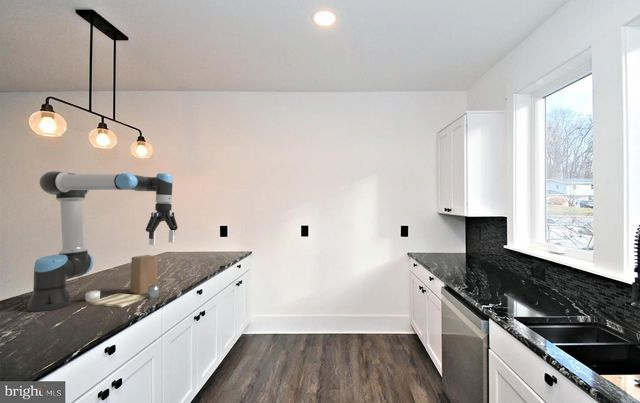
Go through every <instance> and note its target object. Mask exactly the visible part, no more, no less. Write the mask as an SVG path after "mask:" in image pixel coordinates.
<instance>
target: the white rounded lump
mask: <svg viewBox="0 0 640 403" xmlns="http://www.w3.org/2000/svg"><path fill="white" fill-rule="evenodd" d="M98 299H101V291H100V290H90V291H87V292H85V298H84V300H85V302H87V303H90V302H92V301H95V300H98Z"/></svg>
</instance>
